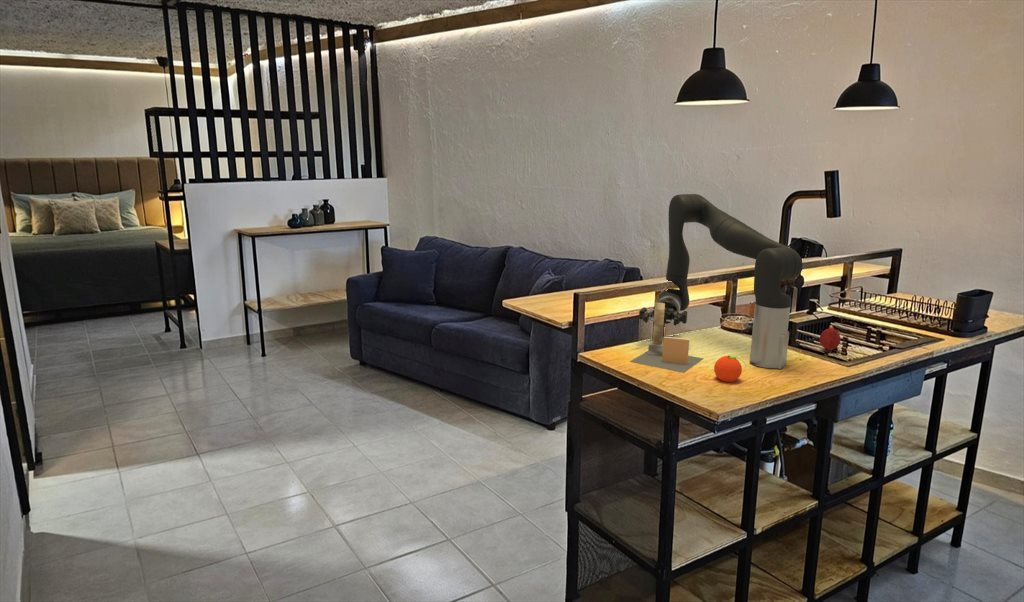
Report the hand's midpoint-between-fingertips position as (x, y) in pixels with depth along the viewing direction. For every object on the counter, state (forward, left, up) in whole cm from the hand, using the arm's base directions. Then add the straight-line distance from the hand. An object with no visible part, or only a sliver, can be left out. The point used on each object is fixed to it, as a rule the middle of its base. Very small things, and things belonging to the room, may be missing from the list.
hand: (660, 320), depth 198 cm
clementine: (-25, +14, -10) cm, 31 cm away
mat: (-6, +8, -10) cm, 14 cm away
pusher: (-1, +3, -9) cm, 10 cm away
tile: (-8, +9, -9) cm, 15 cm away
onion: (-41, -33, -10) cm, 54 cm away
